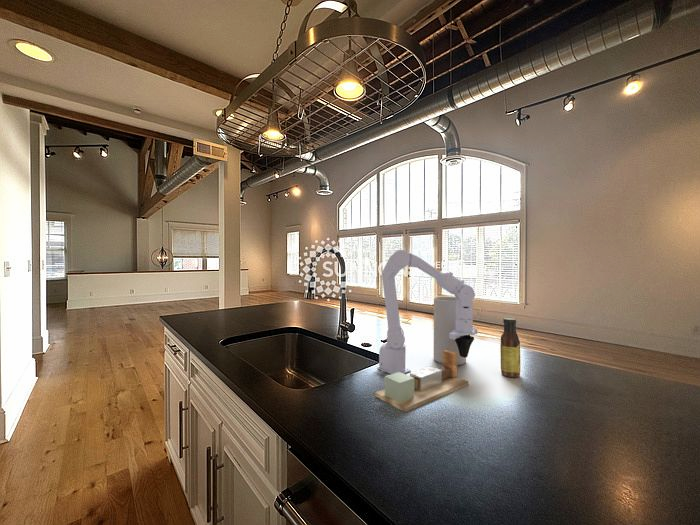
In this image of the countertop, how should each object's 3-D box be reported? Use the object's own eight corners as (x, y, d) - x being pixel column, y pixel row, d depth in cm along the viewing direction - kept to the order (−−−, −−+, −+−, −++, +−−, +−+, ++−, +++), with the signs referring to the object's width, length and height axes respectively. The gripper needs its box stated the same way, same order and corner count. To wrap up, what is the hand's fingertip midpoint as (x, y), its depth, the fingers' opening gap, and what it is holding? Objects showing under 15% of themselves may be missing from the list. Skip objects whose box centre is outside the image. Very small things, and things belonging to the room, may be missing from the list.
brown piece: (408, 387, 94) (408, 360, 94) (446, 373, 106) (446, 349, 106) (418, 391, 91) (418, 364, 90) (456, 376, 102) (456, 352, 102)
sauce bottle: (524, 378, 105) (524, 320, 105) (505, 378, 105) (506, 320, 105) (514, 371, 112) (514, 317, 112) (496, 371, 112) (497, 317, 112)
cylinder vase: (427, 357, 128) (428, 297, 128) (453, 354, 131) (453, 296, 131) (445, 367, 116) (446, 301, 116) (473, 364, 120) (473, 300, 119)
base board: (374, 396, 91) (375, 392, 91) (437, 373, 109) (437, 370, 109) (405, 412, 81) (405, 407, 81) (468, 384, 100) (468, 381, 100)
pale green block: (384, 394, 89) (384, 376, 89) (398, 389, 93) (399, 371, 93) (399, 402, 84) (399, 382, 84) (414, 396, 88) (414, 377, 88)
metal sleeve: (409, 387, 94) (409, 373, 94) (430, 379, 101) (430, 366, 101) (421, 392, 91) (421, 377, 91) (441, 384, 97) (441, 370, 97)
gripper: (462, 322, 101) (462, 363, 101) (485, 317, 110) (485, 355, 110) (444, 319, 106) (443, 358, 106) (467, 314, 115) (467, 351, 115)
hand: (463, 356), depth 108 cm, fingers closed
